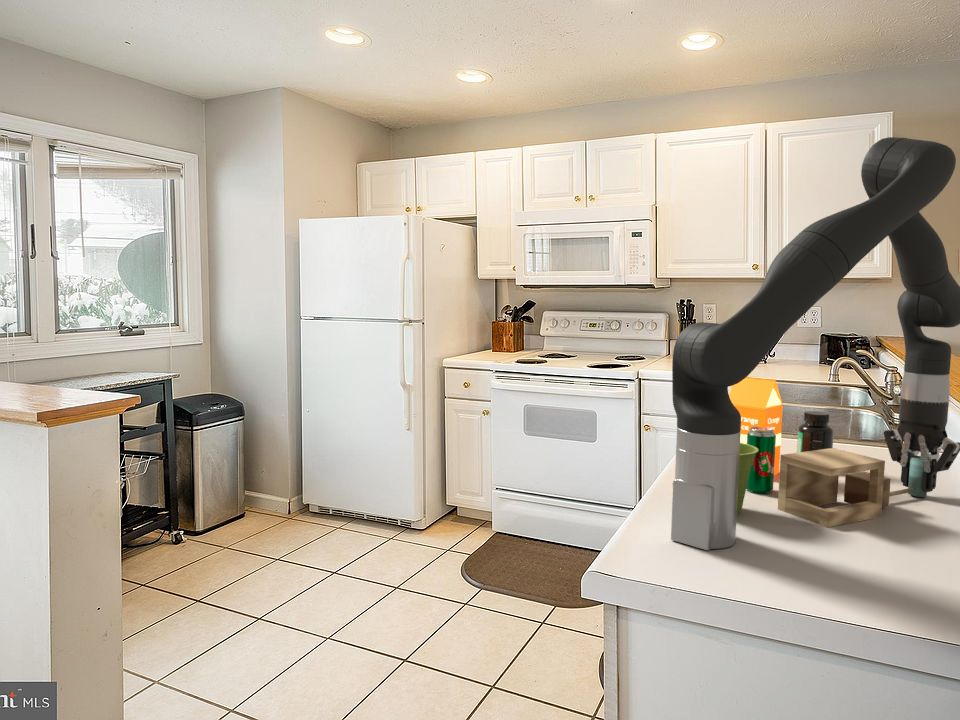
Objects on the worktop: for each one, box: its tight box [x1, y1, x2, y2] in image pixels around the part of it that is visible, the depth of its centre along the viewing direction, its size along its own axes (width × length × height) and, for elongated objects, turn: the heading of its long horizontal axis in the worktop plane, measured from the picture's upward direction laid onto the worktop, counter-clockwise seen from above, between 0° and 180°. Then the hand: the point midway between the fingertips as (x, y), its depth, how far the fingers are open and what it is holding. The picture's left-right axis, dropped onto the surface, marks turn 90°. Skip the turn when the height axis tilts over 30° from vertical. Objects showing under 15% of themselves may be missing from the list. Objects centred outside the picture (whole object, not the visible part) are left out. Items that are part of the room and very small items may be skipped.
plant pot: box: [737, 443, 759, 514], centre depth 120 cm, size 12×12×11 cm
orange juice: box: [728, 376, 784, 476], centre depth 144 cm, size 8×9×20 cm
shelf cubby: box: [777, 447, 886, 528], centre depth 118 cm, size 13×10×10 cm
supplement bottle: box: [796, 410, 835, 453], centre depth 148 cm, size 7×7×12 cm
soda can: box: [746, 427, 776, 495], centre depth 131 cm, size 5×5×12 cm
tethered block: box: [843, 455, 928, 508], centre depth 125 cm, size 18×5×7 cm, turn 114°
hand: (917, 488), depth 129 cm, fingers closed on tethered block, 3 cm apart
